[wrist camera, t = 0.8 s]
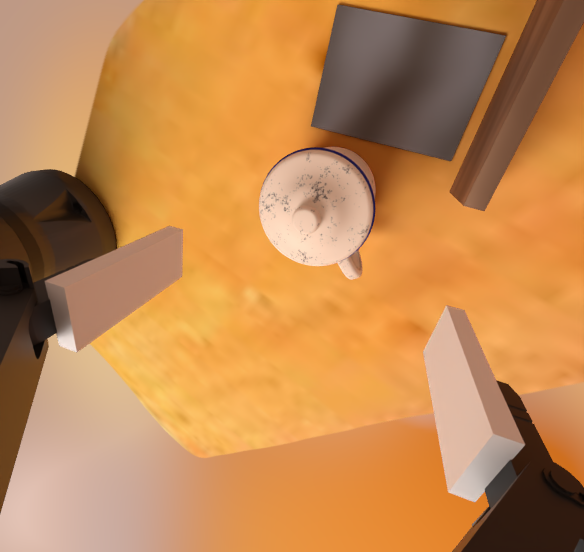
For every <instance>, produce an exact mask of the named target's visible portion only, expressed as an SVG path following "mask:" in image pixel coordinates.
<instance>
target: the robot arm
mask: <svg viewBox="0 0 584 552" xmlns="http://www.w3.org/2000/svg"><path fill="white" fill-rule="evenodd" d="M182 250H183V230H182V229H179V228H175V227H172V226H168V227H166V228H164V229H161V230H159V231H157V232H155V233H152V234H150V235H148V236H146V237H143V238H141V239H139V240H136V241H134V242H132V243H130V244H127V245H125V246H123V247H121V248H118V249H116V240H115V234H114V230H113V226H112V224H111V221H110V218H109V216H108V214H107V212H106V210H105V209H104V207H103V205H102V204H101V202H100V201H99V200H98V198H97V197H96V196H95V195H94V194H93V192H92V191H91V190H90V189H89V188H88V187H87V186H85V185H84V184H83V183H82V182H81V181H79V180H78V179H76V178H75V177H73V176H71V175H69V174H67V173H64V172H62V171H58V170H51V169H50V170H40V171H31V172H27V173H24V174H21V175H19V176H18V177H15V178H14V179H12V180H10V181H8V182H6V183H4V184H2V185H0V513H1V509H2V506H3V502H4V499H5V495H6V492H7V489H8V485H9V482H10V478H11V475H12V471H13V468H14V464H15V461H16V458H17V454H18V451H19V447H20V444H21V440H22V436H23V433H24V430H25V426H26V423H27V419H28V416H29V413H30V409H31V406H32V402H33V399H34V395H35V392H36V388H37V385H38V381H39V378H40V375H41V371H42V368H43V364H44V361H45V357H46V353H47V350H48V340H47V338H49V337H51V336H52V335H54V334H55V333H56V334H57V338H58V342H59V346H61V347H64V348H67V349H69V350H72V351H75V352H78V351H79V350H81V349H82V348H84V347H85V346H86V345H88V344H89V343H91V342H92V341H93V340H95V339H96V338H97V337H99V336H100V335H102V334H103V333H104V332H106V331H107V330H109V329H110V328H111V327H113V326H114V325H116V324H117V323H118V322H120V321H121V320H122V319H124V318H125V317H127V316H128V315H129V314H131V313H132V312H134V311H135V310H136V309H138V308H139V307H141V306H142V305H143V304H145V303H146V302H147V301H149V300H150V299H152V298H153V297H154V296H156V295H157V294H159V293H160V292H161V291H163V290H164V289H166V288H167V287H168V286H170V285H171V284H172V283H174V282H175V281H177V280H178V279H179V278H181V277H182ZM423 354H424V360H425V365H426V371H427V376H428V382H429V388H430V393H431V399H432V404H433V410H434V415H435V421H436V427H437V432H438V438H439V443H440V449H441V454H442V460H443V465H444V471H445V477H446V482H447V488H448V492H449V493H452V494H454V495H457V496H460V497H462V498H465V499H468V500H470V501H473V502H476V501H477V499H478V498H479V497H480V496H481V495H482V493H484V491H485V493H486V496H487V499H488V503H489V507H488V508H487V509H486V510H485V511H484V512H483V514H482V515H481V516H480V517H479V518H478V519H477V520H476V521H475V522H474V523H473V524H472V528H471V529H470V530H469V531H468V532H467V534H466V535H465V536H464V537H463V539H462V540H461V541H460V543H459V544H458V545H457V546H456V548H455V549H454V550H453V551H452V552H584V487H583V486H582V484H581V483H580V482H579V481H578V480H577V479H576V478H575V477H574V476H572V475H571V474H570V473H569V472H568V471H567V470H565V469H564V468H562V467H561V466H559V465H558V464H556V463H554V462H553V461H552V459H551V457H550V455H549V453H548V451H547V449H546V447H545V445H544V443H543V441H542V439H541V437H540V435H539V433H538V431H537V430H536V427H535V425H534V424H532V420H531V418H530V416H529V414H528V413H526V411H527V410H526V408H525V406H524V404H523V402H522V400H521V398H520V397H519V396H518V395H517V393H516V392H515V391H514V390H513V389H512V388H511V387H510V386H509V385H508V384H506V383H502V382H499V381H496V379H495V377H494V375H493V372H492V370H491V368H490V366H489V364H488V361H487V359H486V357H485V355H484V353H483V350H482V348H481V346H480V344H479V342H478V339H477V337H476V335H475V333H474V330H473V328H472V326H471V324H470V322H469V319H468V317H467V315H466V313H465V311H464V310H462V309H458V308H455V307H451V306H448V305H446V307H445V309H444V311H443V313H442V315H441V317H440V319H439V321H438V323H437V325H436V327H435V329H434V331H433V333H432V335H431V337H430V339H429V341H428V343H427V345H426V347H425V349H424V351H423Z"/></svg>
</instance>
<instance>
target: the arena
mask: <svg viewBox="0 0 584 552" xmlns="http://www.w3.org/2000/svg"><path fill="white" fill-rule="evenodd" d="M583 23H584V0H537V2H536V4H535V6H534V8H533V10H532V13H531V15H530V17H529V19H528V21H527V23H526V26H525V28H524V30H523V32H522V34H521V37H520V39H519V41H518V43H517V45H516V48H515V50H514V52H513V54H512V56H511V59H510V61H509V63H508V65H507V67H506V69H505V72H504V74H503V76H502V78H501V80H500V83H499V85H498V87H497V89H496V91H495V94H494V96H493V98H492V100H491V102H490V105H489V107H488V109H487V111H486V113H485V115H484V118H483V120H482V122H481V124H480V126H479V129H478V131H477V133H476V135H475V137H474V140H473V142H472V144H471V146H470V148H469V151H468V153H467V155H466V157H465V159H464V161H463V164H462V166H461V168H460V170H459V172H458V175H457V177H456V179H455V181H454V183H453V186H452V188H451V190H450V193H451V194H452V195H453V196H454V197H455V198H456V199H457V200H458V201H459V202H460V203H461V204H462V205H463V206H467V207H470V208H474V209H478V210H481V211H485V209H486V207H487V205H488V203H489V201H490V199H491V198H492V196H493V194H494V192H495V190H496V188H497V186H498V184H499V182H500V180H501V179H502V177H503V175H504V173H505V171H506V169H507V167H508V165H509V163H510V161H511V160H512V158H513V156H514V154H515V152H516V150H517V148H518V146H519V144H520V142H521V141H522V139H523V137H524V135H525V133H526V131H527V129H528V127H529V125H530V123H531V122H532V120H533V118H534V116H535V114H536V112H537V110H538V108H539V106H540V104H541V103H542V101H543V99H544V97H545V95H546V93H547V91H548V89H549V87H550V85H551V84H552V82H553V80H554V78H555V76H556V74H557V72H558V70H559V68H560V66H561V65H562V63H563V61H564V59H565V57H566V55H567V53H568V51H569V49H570V47H571V45H572V44H573V42H574V40H575V38H576V36H577V34H578V32H579V30H580V28H581V26H582V25H583ZM505 37H506V36H505V35H499V34H494V33H488V32H483V31H478V30H472V29H467V28H461V27H456V26H451V25H445V24H440V23H434V22H429V21H424V20H418V19H413V18H407V17H402V16H397V15H391V14H386V13H380V12H375V11H370V10H364V9H359V8H353V7H348V6H343V5H337V10H336V14H335V19H334V24H333V28H332V33H331V37H330V42H329V46H328V51H327V55H326V60H325V65H324V69H323V74H322V78H321V83H320V87H319V92H318V97H317V101H316V106H315V110H314V115H313V119H312V124H311V126H312V127H316V128H320V129H324V130H328V131H332V132H336V133H340V134H344V135H348V136H352V137H356V138H360V139H364V140H368V141H372V142H376V143H380V144H384V145H388V146H392V147H396V148H400V149H404V150H408V151H412V152H416V153H420V154H424V155H428V156H432V157H436V158H440V159H444V160H448V161H452V158H453V156H454V154H455V151H456V149H457V147H458V145H459V142H460V140H461V138H462V136H463V133H464V131H465V129H466V126H467V124H468V122H469V120H470V117H471V115H472V113H473V110H474V108H475V106H476V104H477V101H478V99H479V97H480V94H481V92H482V90H483V88H484V85H485V83H486V81H487V78H488V76H489V74H490V72H491V69H492V67H493V65H494V62H495V60H496V58H497V56H498V53H499V51H500V49H501V47H502V44H503V42H504V40H505Z"/></svg>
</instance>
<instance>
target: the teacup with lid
mask: <svg viewBox="0 0 584 552" xmlns="http://www.w3.org/2000/svg"><path fill="white" fill-rule="evenodd" d="M375 194H376V187H375V180H374V177H373V174H372V172H371V170H370V168H369V166H368V165H367V163H366V162H365V161H364V160H363V159H362V158H361V157H360V156H359V155H357V154H356V153H354V152H352V151H350V150H348V149H345V148H341V147H325V148H306V149H301V150H298V151H295V152H293V153H291V154H289V155H287V156H285V157H284V158H282V159H281V160H280V161H279V162H278V163H277V164H276V165H275V166H274V167H273V168H272V169H271V171H270V172H269V173H268V175H267V177H266V179H265V181H264V183H263V186H262V189H261V193H260V199H259V213H260V219H261V223H262V226H263V229H264V231H265V233H266V235H267V237H268V238H269V240H270V241H271V243H272V244H273V245H274V246H275V247H276V248H277V249H278V250H279V251H280V252H281V253H282V254H283V255H285V256H286V257H288V258H290V259H291V260H293V261H296V262H298V263H301V264H305V265H311V266H325V265H330V264H334V263H338V265H339V267H340V269H341V270H342V272H343V273H344V275H345V276H346V277H347V278H349V279H356V278H358V277H360V276H361V274H362V261H361V257H360V253H359V250H358V249H359V248H360V247H361V246H362V245H363V243H364V242H365V241H366V239H367V237H368V236H369V234H370V232H371V229H372V226H373V222H374V217H375Z"/></svg>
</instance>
